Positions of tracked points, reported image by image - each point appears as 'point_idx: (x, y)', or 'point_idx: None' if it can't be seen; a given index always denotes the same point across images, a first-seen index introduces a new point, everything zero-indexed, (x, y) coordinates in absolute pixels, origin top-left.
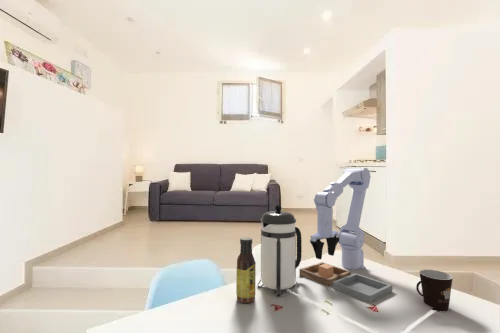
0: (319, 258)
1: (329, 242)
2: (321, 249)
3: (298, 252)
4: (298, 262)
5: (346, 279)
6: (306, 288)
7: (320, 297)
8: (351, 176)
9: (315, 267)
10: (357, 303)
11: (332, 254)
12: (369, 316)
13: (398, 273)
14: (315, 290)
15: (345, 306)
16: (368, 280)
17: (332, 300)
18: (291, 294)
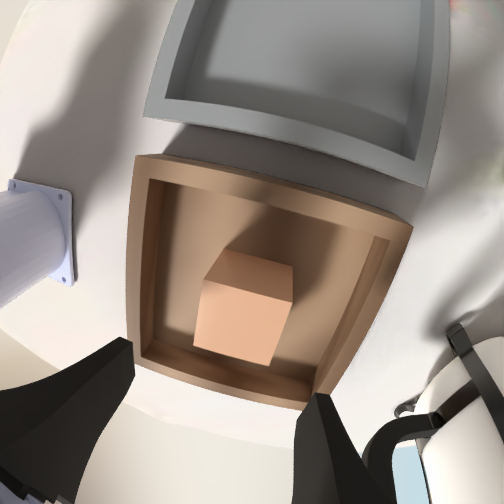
0: (329, 405)
1: (73, 456)
2: (356, 479)
3: (393, 491)
4: (389, 440)
5: (299, 121)
6: (439, 302)
7: (493, 209)
8: None
9: (204, 369)
10: (451, 44)
11: (127, 351)
12: (492, 15)
13: (7, 67)
14: (444, 259)
15: (500, 91)
16: (194, 19)
17: (492, 151)
18: (497, 314)
